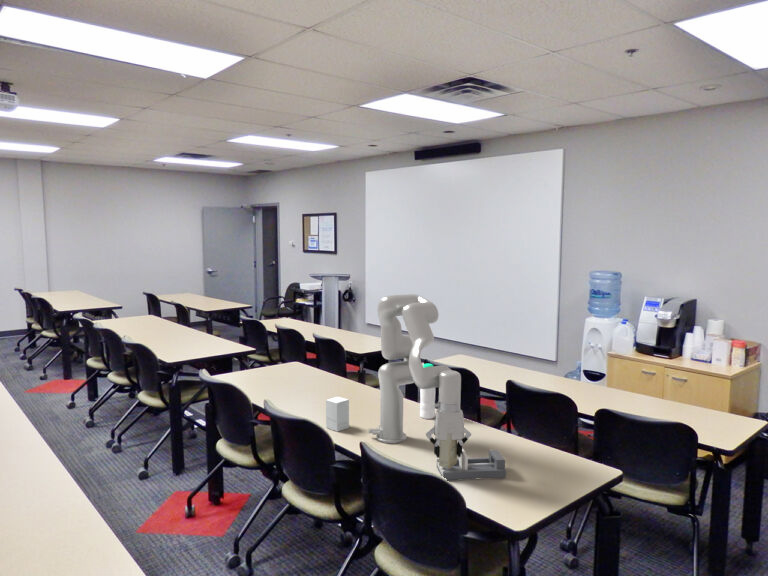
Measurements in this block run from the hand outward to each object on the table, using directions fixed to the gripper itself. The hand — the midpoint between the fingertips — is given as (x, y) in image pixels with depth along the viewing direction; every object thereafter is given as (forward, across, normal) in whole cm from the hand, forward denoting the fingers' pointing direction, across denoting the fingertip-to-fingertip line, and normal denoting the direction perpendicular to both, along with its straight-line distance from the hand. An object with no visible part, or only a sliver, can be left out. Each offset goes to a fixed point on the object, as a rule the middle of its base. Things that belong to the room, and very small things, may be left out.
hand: (448, 455), depth 181 cm
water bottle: (+7, +4, +59) cm, 59 cm away
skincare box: (+4, 0, 0) cm, 4 cm away
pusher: (+5, +13, 0) cm, 13 cm away
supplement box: (+7, -38, +48) cm, 61 cm away
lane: (+6, +8, 0) cm, 10 cm away
